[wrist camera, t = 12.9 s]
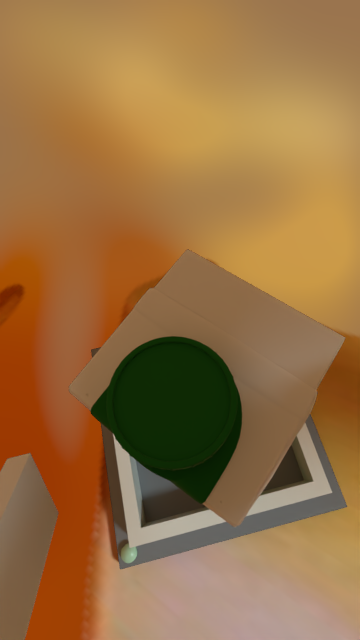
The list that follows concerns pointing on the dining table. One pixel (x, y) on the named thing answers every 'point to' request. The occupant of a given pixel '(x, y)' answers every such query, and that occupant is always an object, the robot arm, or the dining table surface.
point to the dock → (199, 521)
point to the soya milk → (209, 383)
